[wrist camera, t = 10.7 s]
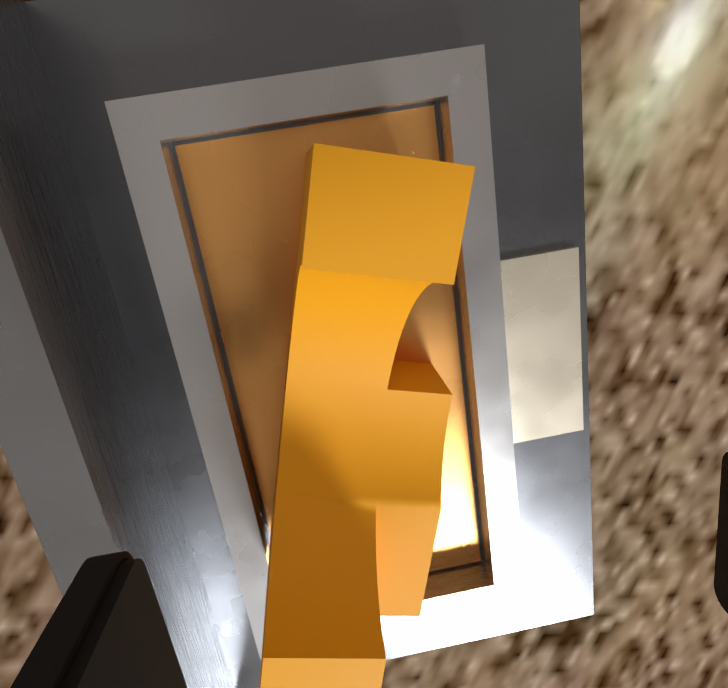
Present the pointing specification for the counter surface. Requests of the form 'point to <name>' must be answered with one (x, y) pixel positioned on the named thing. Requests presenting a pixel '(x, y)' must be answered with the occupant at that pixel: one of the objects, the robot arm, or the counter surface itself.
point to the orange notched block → (358, 415)
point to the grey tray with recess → (285, 292)
